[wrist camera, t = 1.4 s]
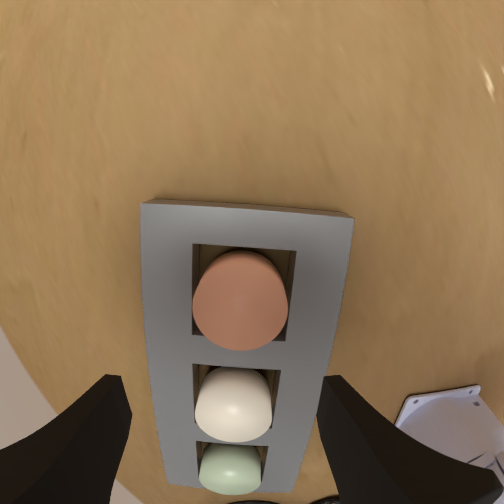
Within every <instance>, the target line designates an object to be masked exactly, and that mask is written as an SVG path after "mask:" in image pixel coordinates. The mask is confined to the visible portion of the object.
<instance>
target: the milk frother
mask: <svg viewBox="0 0 504 504" xmlns="http://www.w3.org/2000/svg"><path fill="white" fill-rule="evenodd" d="M232 504H273V503H269V502H259V501H250V502H237V503H232ZM315 504H341V503H340V498H336V499H328V500H324V501H320V502H317V503H315Z"/></svg>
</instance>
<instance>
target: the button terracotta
mask: <svg viewBox="0 0 504 504" xmlns="http://www.w3.org/2000/svg"><path fill="white" fill-rule="evenodd" d="M192 310H193V316H194V319H195V322H196V324H197V326H198V328H199V329H200V331H201V332H202V333H203V335H204V336H205V337H206V338H208V339H209V340H210V341H211V342H213V343H214V344H216V345H218V346H220V347H223V348H226V349H230V350H236V351H246V350H252V349H256V348H259V347H262V346H264V345H266V344H267V343H269V342H271V341H272V340H273V339H274V338H275V337H276V336H277V335H278V334H279V333H280V331H281V330H282V328H283V326H284V325H285V322H286V319H287V314H288V303H287V298H286V294H285V290H284V286H283V282H282V278H281V276H280V273H279V271H278V270H277V268H276V267H275V266H274V264H273V263H272V262H271V261H269V260H268V259H267V258H266V257H264V256H262V255H260V254H258V253H255V252H251V251H245V250H238V251H231V252H228V253H225V254H223V255H221V256H219V257H217V258H216V259H215V260H213V261H212V262H211V263H210V264H209V266H208V267H207V268H206V270H205V272H204V274H203V276H202V278H201V280H200V282H199V285H198V287H197V289H196V291H195V294H194V297H193V304H192Z"/></svg>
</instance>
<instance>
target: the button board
mask: <svg viewBox="0 0 504 504" xmlns="http://www.w3.org/2000/svg"><path fill="white" fill-rule="evenodd" d="M353 226H354V218H352V217H350V216H349V215H347V214H345V213H343V212H333V211H323V210H313V209H302V208H291V207H279V206H266V205H253V204H239V203H223V202H207V201H188V200H166V199H152V200H149V201H146V202H143V203H141V217H140V240H141V279H142V300H143V315H144V329H145V340H146V351H147V360H148V369H149V378H150V386H151V393H152V400H153V407H154V413H155V420H156V426H157V432H158V437H159V443H160V448H161V453H162V458H163V463H164V468H165V473H166V477H167V482H168V483H169V484H175V485H181V486H188V487H196V488H204V489H207V488H205V487H204V486H203V485H202V484H201V483H200V481H199V474H200V467H201V461H202V458H201V441H203V442H212V443H223V444H236V445H254V446H264V451H263V457H262V463H260V465H261V483H260V486H259V487H258V488H257V489H256V490H254V491H252V492H271V493H279V492H292V490H293V487H294V484H295V481H296V479H297V476H298V472H299V469H300V466H301V463H302V460H303V457H304V454H305V451H306V447H307V444H308V441H309V437H310V434H311V430H312V427H313V423H314V420H315V416H316V413H317V409H318V404H319V399H320V394H321V388H322V383H323V377H324V376H326V373H327V369H328V365H329V361H330V356H331V352H332V347H333V343H334V338H335V333H336V328H337V323H338V318H339V313H340V308H341V303H342V297H343V292H344V286H345V280H346V274H347V268H348V261H349V255H350V248H351V241H352V234H353ZM199 244H209V245H223V246H237V247H251V248H265V249H279V250H291V252H290V261H289V270H288V279H287V288H286V298H287V303H288V314H287V319H286V322H285V325H284V326H283V328H282V330H281V331H280V333H279V334H278V335H277V336H276V337H275V338H274V339H273V340H272V341H271V342H269V343H267V344H266V345H264V346H262V347H259V348H256V349H252V350H246V351H236V350H230V349H226V348H223V347H220V346H218V345H216V344H214V343H213V342H211V341H210V340H209V339H208V338H206V337H205V336H204V335H203V333H202V332H201V331H200V329H199V328H198V326H197V324H196V322H195V319H194V316H193V310H192V304H193V297H194V294H195V291H196V289H197V287H198V282H199ZM198 364H204V365H214V366H226V367H238V368H254V369H274V370H276V373H275V380H274V387H273V394H272V401H271V409H272V422H271V425H270V427H269V429H268V430H267V431H266V432H265V433H264V434H263V435H261V436H260V437H258V438H256V439H253V440H250V441H246V442H226V441H222V440H218V439H216V438H213V437H211V436H209V435H208V434H206V433H205V432H204V431H203V430H202V429H201V428H200V427H199V426H198V424H197V422H196V419H195V409H196V405H197V401H198V396H199V378H198Z"/></svg>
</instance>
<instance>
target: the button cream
mask: <svg viewBox="0 0 504 504" xmlns="http://www.w3.org/2000/svg"><path fill="white" fill-rule="evenodd" d="M195 419H196V422H197V424H198V426H199V427H200V428H201V429H202V430H203V431H204V432H205V433H206V434H208V435H209V436H211V437H213V438H216V439H218V440H222V441H226V442H246V441H250V440H253V439H256V438H258V437H260V436H261V435H263V434H264V433H265V432H266V431H267V430H268V429H269V427H270V425H271V422H272V409H271V394H270V387H269V384H268V382H267V380H266V379H265V378H264V377H263V376H262V375H261V374H260V373H258V372H257V371H255V370H253V369H251V368H238V367H226V366H223V367H219V368H217V369H214V370H213V371H211V372H210V373H208V374H207V375H206V376H205V378H204V379H203V381H202V383H201V387H200V392H199V396H198V401H197V405H196V409H195Z"/></svg>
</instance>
